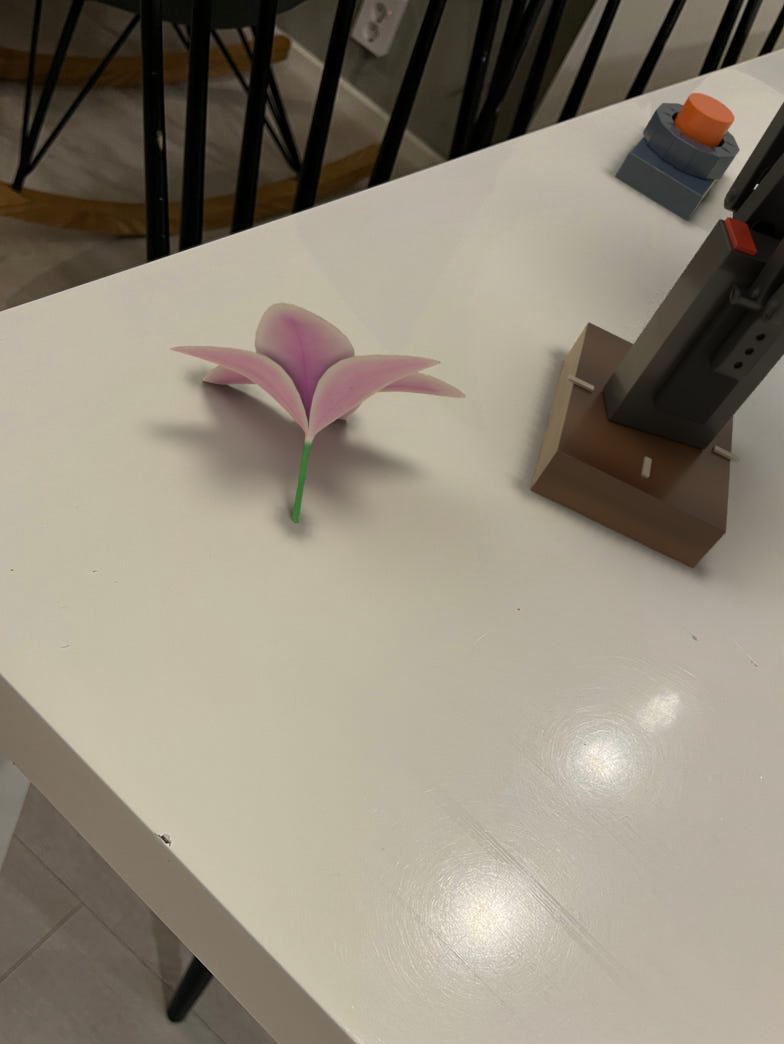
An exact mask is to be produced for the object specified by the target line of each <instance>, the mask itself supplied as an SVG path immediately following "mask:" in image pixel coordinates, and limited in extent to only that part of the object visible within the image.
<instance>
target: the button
mask: <svg viewBox="0 0 784 1044" xmlns="http://www.w3.org/2000/svg"><path fill="white" fill-rule="evenodd" d="M682 105H683V107H682V108H681V110H680V112H679V113H678V115H677V117H676V118H675V120H674V124H675V126H676V127H677V128H678V129H679V130H680V131H681V132H682V133H684V134H685V135H687V136H688V137H690V138H692V139H693V140H695V141H696V142H698V143H701V144H704V145H707V146H710V147H717V146H718V145H719V143H720V142H721V140H722V139H723V137H724V136H725V134H726V133H727V131H728V132H729V130H730V128H731V127H732V125H733V123H734V122H735V115H734V113H733V111H732V110H731V109H730V108H728V106H727V105H726V104H724V103H723V102H722V101H719V100H718V99H716V98H715V97H712V96H710V95H708V94H705V93H701V92H692V93H690V94H689V95H688V96H687V98H686V100H685V102H684V104H682Z"/></svg>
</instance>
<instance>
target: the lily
mask: <svg viewBox="0 0 784 1044" xmlns="http://www.w3.org/2000/svg"><path fill="white" fill-rule="evenodd" d="M254 349H255V351H252V350H247V349H241V348H235V347H225V346H212V345H181V346H173V347H171V348H169V350H171V351H173V352H176V353H179V354H180V353H181V354H184V355H187V356H190V357H193V358H197V359H200V360H203V361H206V362H209V363H212V364H214V365H215V364H216V365H217V366H215V367H213V368H212V369H210V371H208V373H207V374H205V375H204V378H203V379H202V381H203V382H206V383H210V384H216V385H226V386H228V385H229V386H230V385H232V386H233V385H257V386H258V387H259V388H260V389H262V390H263V391H264V392H266V393H267V394H268V395H269V396H270V397H271V398H272V399H273V400H274V401H275V402H276V403H278V404H279V406H281V407H282V408H283V409H284V411H285V412H286V413H287V414H288V415H289V416H290V417H291V418H292V419H293V420H294V421H295V422H296V423H297V424H298V425H299V426H300V427H301V429H302V430H303V432H304V435H305V436H304V443H303V449H302V455H301V461H300V467H299V473H298V478H297V485H296V491H295V497H294V503H293V510H292V517H291V521H292V523H293V524H298V523H299V520H300V514H301V507H302V502H303V496H304V488H305V483H306V477H307V472H308V471H307V470H308V465H309V458H310V455H311V451H312V449H311V448H312V445H313V441H314V439H315V438H316V436H317V434H318V433H319V432H320V431H322V430H323V429H325V428H326V427H328V426H329V425H330V424H332V423H334V422H335V421H336V420H345V421H346V420H348V419H349V418H350V417H351V416H353V414H354V413H355V412H356V411H357V410H358V409H359V407H361V405H362V404H363V402H365V401H366V400H368V399H369V398H370V397H372V396H374V395H375V394H376V393H408V394H409V393H410V394H420V395H428V396H429V395H430V396H439V397H444V398H446V397H447V398H455V399H466V398H467V395H466V393H464V392H463V391H462V390H460V389H458V388H457V387H455V386H453V385H452V384H450V383H448V382H446V381H444V380H442V379H439V378H437V377H436V376H435V377H434V376H433V375H430V374H426V373H422V372H421V371H423V370H426V369H429V368H432V367H434V366H437V365H441V361H440V360H438V359H434V358H430V357H423V356H418V355H417V356H415V355H401V354H363V355H356V353H355V348H354V346H353V344H352V342H351V341H350V339H349V338H348V336H347V335H346V334H345V333H343V332H342V331H341V330H340V329H339V327H337V326H336V325H334V324H333V323H331V321H328V320H326V319H325V318H324V317H322V316H320V315H318V314H316V313H314V312H312V311H310V310H308V309H306V308H303V307H301V306H298V305H295V304H294V303H287V302H276V303H273V304H271V305H270V306H269V307H267V309H266V310H265V311H264V312H263V314H262V316H261V318H260V320H259V322H258V324H257V328H256V330H255V336H254Z"/></svg>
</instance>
